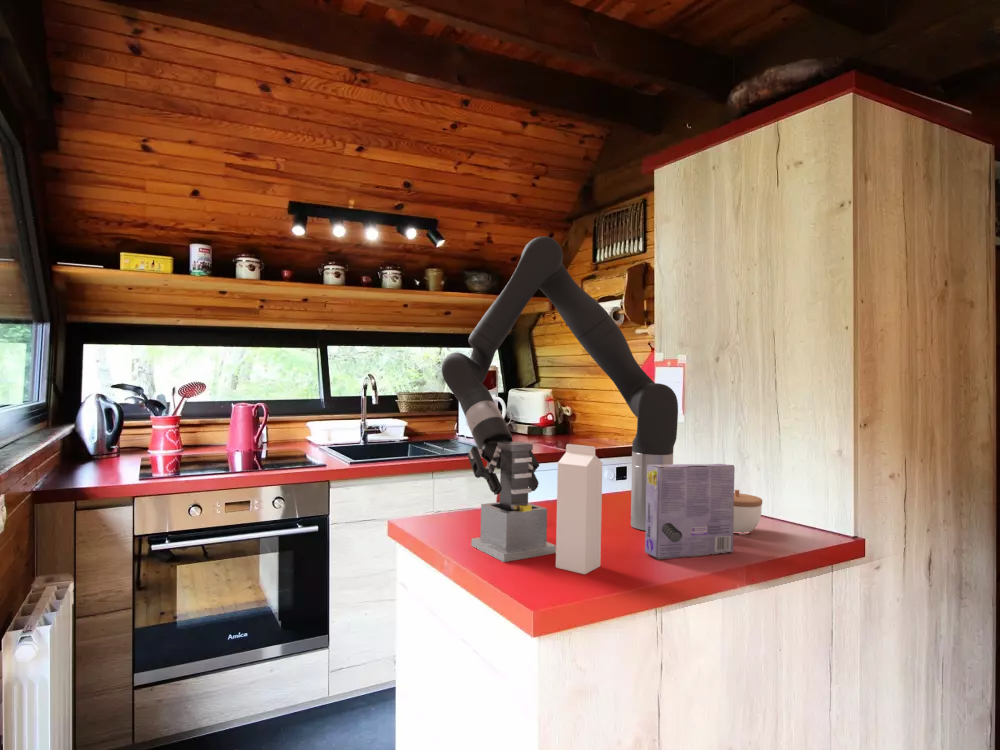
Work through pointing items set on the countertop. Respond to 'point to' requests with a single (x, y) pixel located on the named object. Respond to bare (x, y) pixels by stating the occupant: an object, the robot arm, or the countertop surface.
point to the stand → (513, 532)
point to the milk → (579, 510)
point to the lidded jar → (746, 512)
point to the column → (514, 474)
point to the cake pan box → (689, 510)
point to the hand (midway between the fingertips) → (517, 490)
